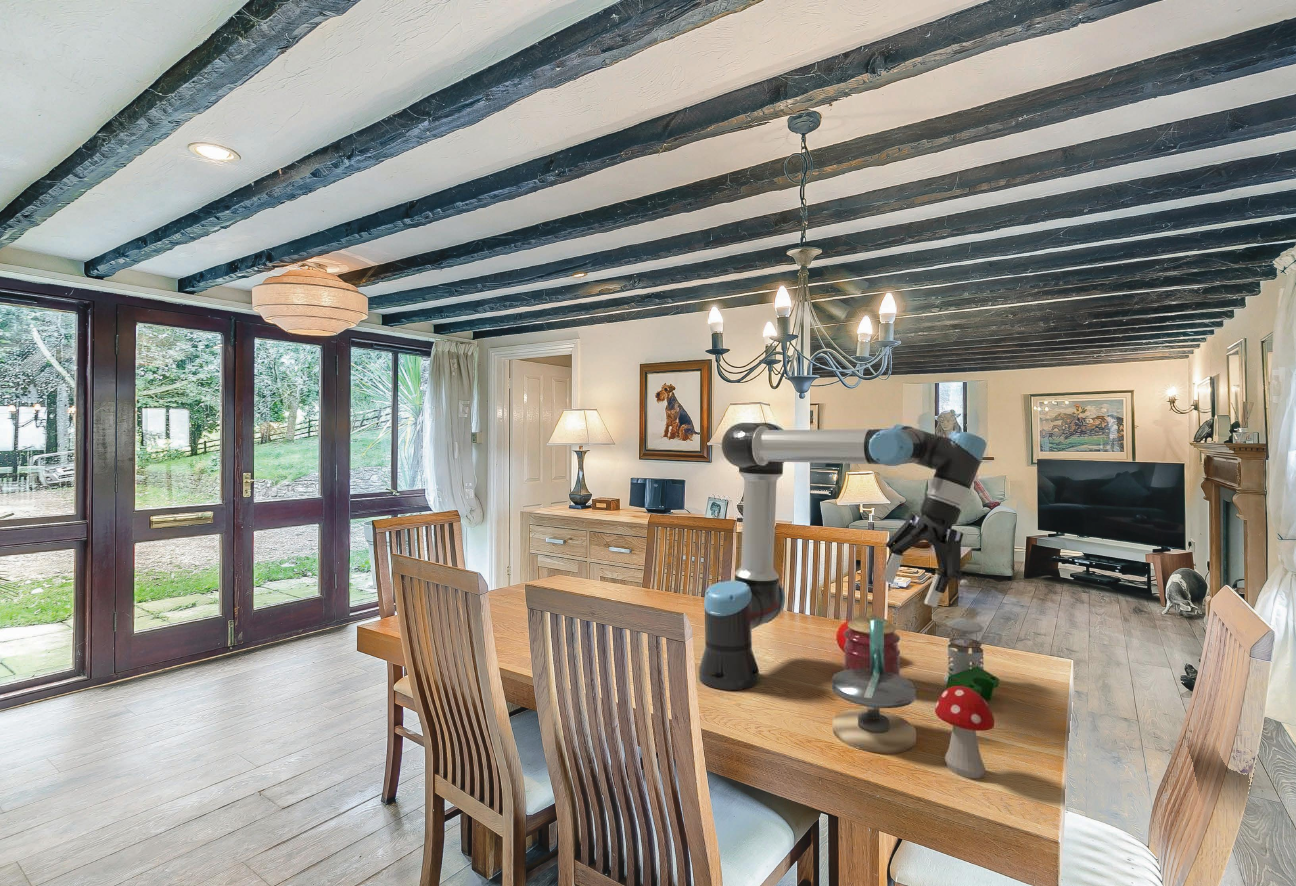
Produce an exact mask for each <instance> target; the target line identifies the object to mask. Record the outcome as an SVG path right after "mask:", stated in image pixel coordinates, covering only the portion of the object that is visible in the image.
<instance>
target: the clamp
mask: <svg viewBox="0 0 1296 886" xmlns="http://www.w3.org/2000/svg"><path fill="white" fill-rule="evenodd" d="M953 686H963V687H967V688H970V689H972V690H974V691H975V692H977V693H978V694H979V695H980V696H981V697H982V698H983V699H984V700H985V701H989V702H991V701H990V700H992V697H993V693H994V689H996V688H999V686H1000V679H999V678H998V677H997V676H996V675H993V674H992V673H990V672H988V671H987V670H985V669H984V670H983V669H981V668H980V667H978V666H977V667H974V668H970V669H968V670H965V671H962V672H959V673H956V674H953V675H950V676H949V677H948V681H947V682H946V686H945V689H944V691H945V690H946V689H948V688H950V687H953Z"/></svg>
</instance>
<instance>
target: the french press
mask: <svg viewBox="0 0 1296 886" xmlns="http://www.w3.org/2000/svg"><path fill="white" fill-rule="evenodd" d="M969 584H970V583H969V581H968V580H966V579H961V580H960V582H959V585H961V586H963V612H964V614H963V615H964V618H963V617H962V618H961V617H959V618H955V619H952V620H949V621H948V622H947V623H946V625H947V626H948V628H950V629H952V630H954V631H957V632H961V633H962V632H963V633H964V637H962V636H956V637H951V638H949V639H948V640H949V641H948V642H949V644H947V656H948V657H947V658H948V659H947V673H946V675H944V676H943V680H944V681H945V682H946V683H947V681H948V677H949V676H950V675H953V674H956V673H959V672H962V671H965V670H968V669H971V668H974V667H977V666H978V667H980V668H981V669H983V670H985V669H984V668H985V667H984V649H983V648H982V644H983V643H981V641H980V640H978V634H977V633H981V632H983V631H984V628H985V627H984V626H983V625H981V624H980V623H979V622H977V621H975V620H974V619H971V618H966V586H969ZM967 633H968V637H966V634H967ZM974 633H975V638H974V639H973V638H971V634H974ZM954 649H956V650H954ZM970 649H971V653H969V651H970ZM951 659H952V660H951ZM950 664H951V665H950Z"/></svg>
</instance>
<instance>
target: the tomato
mask: <svg viewBox="0 0 1296 886" xmlns="http://www.w3.org/2000/svg"><path fill="white" fill-rule="evenodd" d="M854 618H856V616H854ZM851 620H852V619H847V620H846V621H844V622H843V623H841V624H840V625H839V627H838V629H837V631H836V633H835V634H836V635H835V636H836V638H835V639H836V643H837V646H838V647H839V648H840V650H841V651H842V653H844V654H845V649H844V645H845V644H846V637H845V636H844V632H845V631H846V630H847V629H849V627H848V625H847V623H848V622H849V621H851Z"/></svg>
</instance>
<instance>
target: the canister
mask: <svg viewBox="0 0 1296 886" xmlns="http://www.w3.org/2000/svg"><path fill="white" fill-rule="evenodd" d="M855 617H856V616H855ZM855 617H854V618H853V619H850V620H851V621H849V622H848V623H847V625H848V627H849V629H847V630H846V631H845V632H844V636H845V637H846V644H845V645H844V649H845V653H844V670H848V669H870V619H872V618H878V619H882V620H883V622H884V671H886V672H890V673H894V674H897V675H900V676H901V673H900V672H901V671H900V670H901V669H900V668H901V667H900V665H901V663H900V661H901V660H900V654H901V650H900V648H899V642H900V640H901V637H900V635H899V634H898V633H897V632H895V631H897V626H896V625H894V624H893V623H891V622H890V621H889V620H888V619H886V618H882V617H878V615H877V613H876V612H875V611H867V612H866V614H865V615H863V616H857V617H856V618H855Z"/></svg>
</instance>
